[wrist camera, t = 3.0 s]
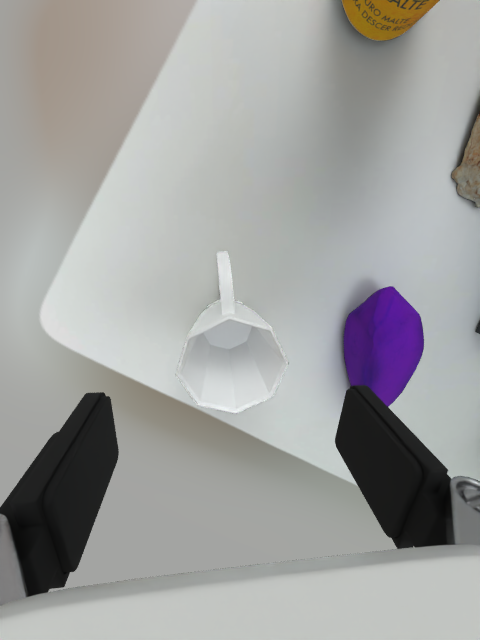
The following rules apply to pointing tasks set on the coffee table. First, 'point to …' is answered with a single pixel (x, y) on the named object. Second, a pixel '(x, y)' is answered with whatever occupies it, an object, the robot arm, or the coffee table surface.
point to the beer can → (385, 16)
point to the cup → (230, 353)
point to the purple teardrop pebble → (383, 344)
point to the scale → (478, 328)
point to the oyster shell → (470, 167)
